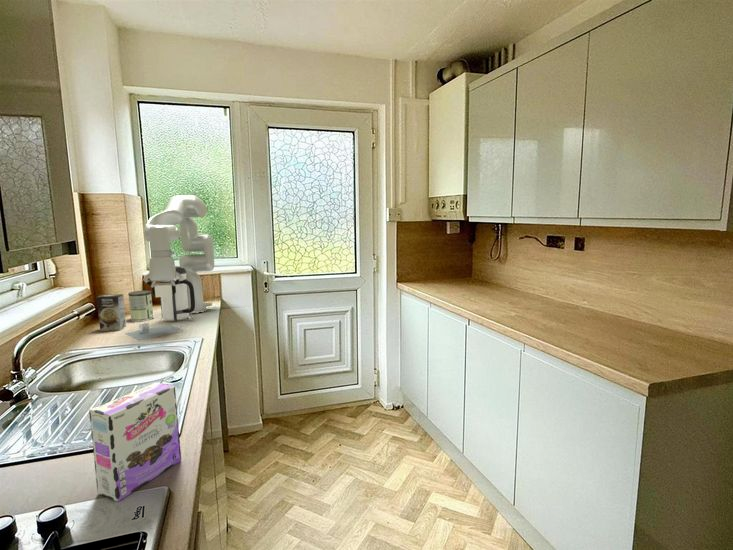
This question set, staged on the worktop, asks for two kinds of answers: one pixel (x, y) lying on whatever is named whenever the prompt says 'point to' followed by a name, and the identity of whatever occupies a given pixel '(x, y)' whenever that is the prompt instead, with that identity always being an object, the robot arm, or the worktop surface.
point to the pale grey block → (144, 328)
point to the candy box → (134, 439)
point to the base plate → (155, 332)
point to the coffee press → (178, 299)
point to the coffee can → (140, 305)
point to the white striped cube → (163, 290)
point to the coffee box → (111, 312)
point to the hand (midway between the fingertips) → (164, 295)
